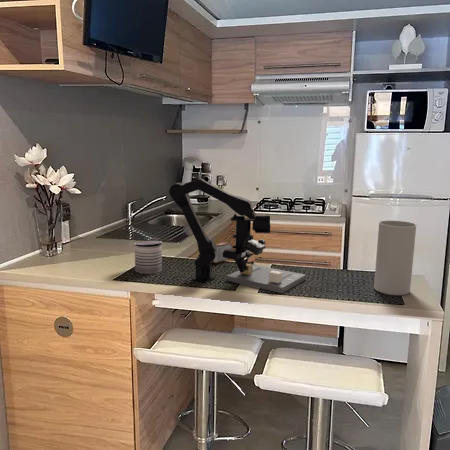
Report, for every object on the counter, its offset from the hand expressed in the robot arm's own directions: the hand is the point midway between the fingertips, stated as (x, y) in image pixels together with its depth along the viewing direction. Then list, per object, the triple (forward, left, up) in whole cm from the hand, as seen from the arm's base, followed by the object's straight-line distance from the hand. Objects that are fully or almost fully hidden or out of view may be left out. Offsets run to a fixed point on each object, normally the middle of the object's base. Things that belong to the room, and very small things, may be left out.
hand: (241, 272), depth 177 cm
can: (-10, +39, -4) cm, 40 cm away
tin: (+19, +23, -4) cm, 30 cm away
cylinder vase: (+24, -50, -4) cm, 56 cm away
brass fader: (+3, 0, -1) cm, 3 cm away
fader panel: (+7, -7, -4) cm, 10 cm away
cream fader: (+1, -14, -1) cm, 14 cm away
